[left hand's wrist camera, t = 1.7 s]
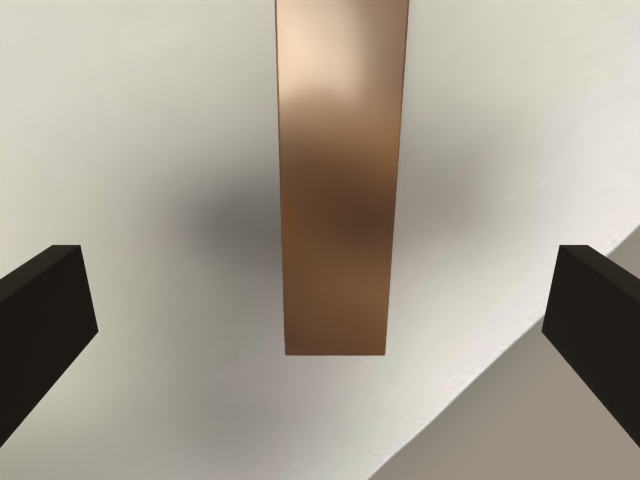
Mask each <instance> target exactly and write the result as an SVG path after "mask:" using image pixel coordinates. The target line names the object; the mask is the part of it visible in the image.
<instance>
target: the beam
mask: <svg viewBox="0 0 640 480" xmlns="http://www.w3.org/2000/svg"><path fill="white" fill-rule="evenodd" d="M408 11H409V0H275V27H276V62H277V96H278V131H279V166H280V201H281V236H282V271H283V306H284V341H285V355H385V349H386V334H387V320H388V305H389V290H390V276H391V261H392V246H393V231H394V217H395V202H396V187H397V173H398V158H399V143H400V129H401V114H402V99H403V84H404V70H405V55H406V40H407V26H408Z"/></svg>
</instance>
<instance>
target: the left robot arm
mask: <svg viewBox="0 0 640 480" xmlns="http://www.w3.org/2000/svg"><path fill="white" fill-rule="evenodd" d="M97 333H98V327H97V322H96V317H95V313H94V308H93V303H92V298H91V293H90V289H89V284H88V279H87V274H86V270H85V265H84V260H83V255H82V251H81V246H80V245H52V246H50V247H49V248H47V249H46V250H44V251H43V252H41V253H40V254H38V255H36V256H35V257H33V258H32V259H30V260H29V261H27V262H26V263H24V264H23V265H21V266H20V267H18V268H17V269H15V270H14V271H12V272H11V273H9V274H8V275H6V276H5V277H3V278H1V279H0V448H1V446H2V445H3V444H4V443H5V442H6V440H7V439H8V438H9V437H10V436H11V435H12V433H13V432H14V431H15V430H16V429H17V427H18V426H19V425H20V424H21V423H22V421H23V420H24V419H25V418H26V417H27V416H28V414H29V413H30V412H31V411H32V410H33V408H34V407H35V406H36V405H37V404H38V403H39V401H40V400H41V399H42V398H43V397H44V395H45V394H46V393H47V392H48V391H49V390H50V388H51V387H52V386H53V385H54V384H55V382H56V381H57V380H58V379H59V378H60V376H61V375H62V374H63V373H64V372H65V371H66V369H67V368H68V367H69V366H70V365H71V363H72V362H73V361H74V360H75V359H76V358H77V356H78V355H79V354H80V353H81V352H82V350H83V349H84V348H85V347H86V346H87V345H88V343H89V342H90V341H91V340H92V339H93V337H94V336H95V335H96V334H97ZM542 333H543V334H544V335H545V336H546V337H547V339H548V340H549V341H550V342H551V343H552V344H553V346H554V347H555V348H556V349H557V350H558V352H559V353H560V354H561V355H562V356H563V358H564V359H565V360H566V361H567V362H568V363H569V365H570V366H571V367H572V368H573V369H574V371H575V372H576V373H577V374H578V375H579V376H580V378H581V379H582V380H583V381H584V382H585V384H586V385H587V386H588V387H589V388H590V390H591V391H592V392H593V393H594V394H595V395H596V397H597V398H598V399H599V400H600V401H601V402H602V404H603V405H604V406H605V407H606V408H607V410H608V411H609V412H610V413H611V414H612V416H613V417H614V418H615V419H616V420H617V421H618V423H619V424H620V425H621V426H622V427H623V429H624V430H625V431H626V432H627V433H628V434H629V436H630V437H631V438H632V439H633V440H634V442H635V443H636V444H637V445H638V446H639V448H640V279H638V278H637V277H635V276H634V275H632V274H631V273H629V272H628V271H626V270H625V269H623V268H622V267H620V266H619V265H617V264H616V263H614V262H613V261H611V260H610V259H608V258H607V257H605V256H604V255H602V254H600V253H599V252H597V251H596V250H594V249H593V248H591V247H590V246H588V245H560V246H559V251H558V255H557V260H556V265H555V270H554V274H553V279H552V284H551V289H550V293H549V298H548V303H547V308H546V313H545V317H544V322H543V327H542Z"/></svg>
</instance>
